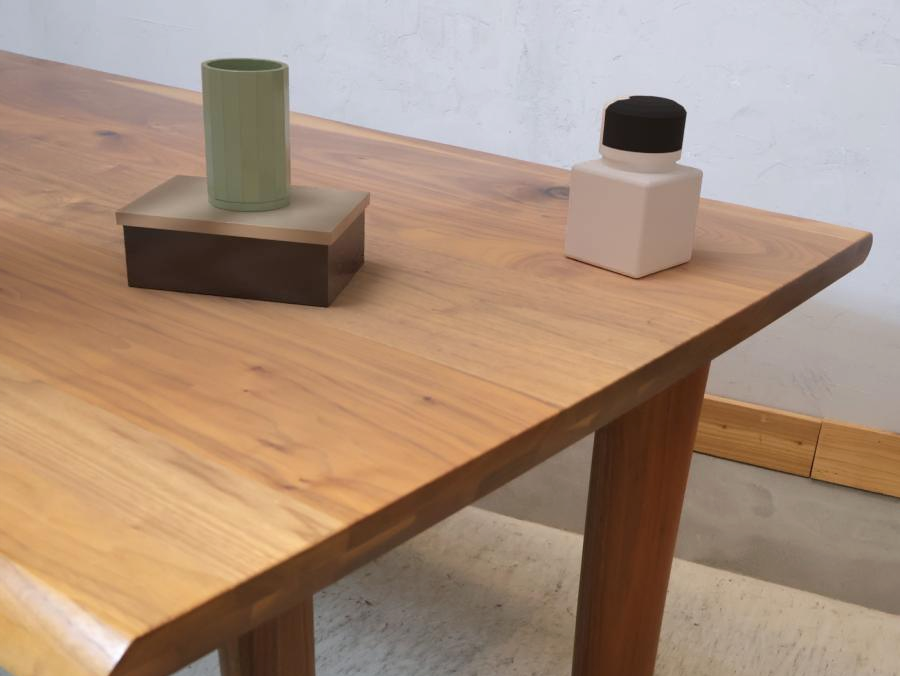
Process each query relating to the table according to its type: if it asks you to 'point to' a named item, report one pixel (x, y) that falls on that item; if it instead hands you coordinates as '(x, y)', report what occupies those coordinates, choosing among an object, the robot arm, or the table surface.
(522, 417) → the table surface
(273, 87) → the cup
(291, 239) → the shoebox
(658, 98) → the medicine bottle
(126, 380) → the table surface
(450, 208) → the table surface
